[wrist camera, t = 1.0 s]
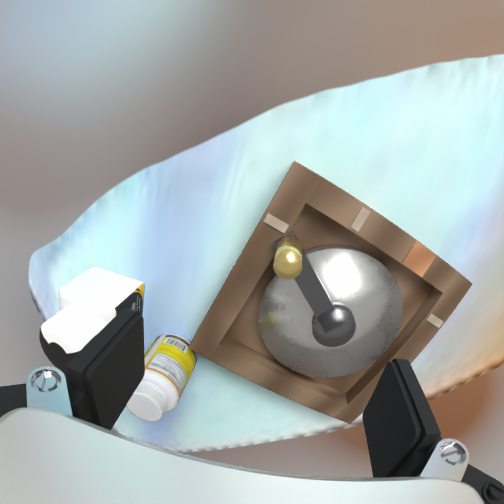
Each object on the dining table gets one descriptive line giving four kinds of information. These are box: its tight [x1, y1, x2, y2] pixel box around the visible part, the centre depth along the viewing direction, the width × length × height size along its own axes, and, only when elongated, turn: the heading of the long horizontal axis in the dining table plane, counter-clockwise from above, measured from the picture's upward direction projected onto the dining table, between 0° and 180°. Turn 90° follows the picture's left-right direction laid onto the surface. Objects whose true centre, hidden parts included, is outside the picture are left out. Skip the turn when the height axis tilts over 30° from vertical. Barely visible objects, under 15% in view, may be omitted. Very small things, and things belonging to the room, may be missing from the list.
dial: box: [259, 231, 403, 378], centre depth 26 cm, size 16×14×7 cm
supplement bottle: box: [127, 334, 197, 421], centre depth 31 cm, size 6×6×10 cm
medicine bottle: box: [40, 266, 145, 370], centre depth 29 cm, size 7×7×12 cm
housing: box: [188, 161, 472, 424], centre depth 30 cm, size 21×21×3 cm
